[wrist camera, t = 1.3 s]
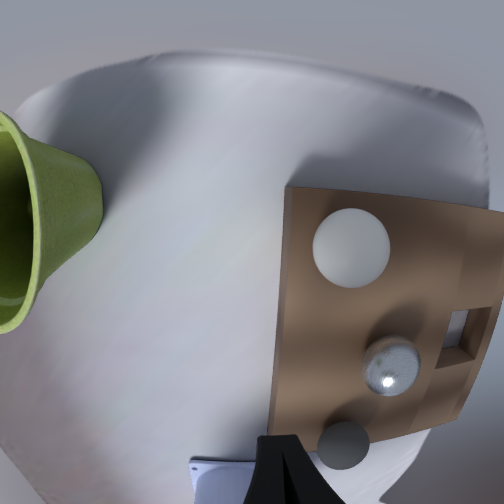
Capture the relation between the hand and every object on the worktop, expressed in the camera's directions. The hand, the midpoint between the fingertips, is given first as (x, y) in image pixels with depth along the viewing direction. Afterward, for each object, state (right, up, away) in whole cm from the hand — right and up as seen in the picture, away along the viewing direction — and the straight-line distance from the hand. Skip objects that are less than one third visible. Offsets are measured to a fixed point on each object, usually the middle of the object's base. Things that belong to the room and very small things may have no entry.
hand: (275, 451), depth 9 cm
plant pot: (-13, +10, +7) cm, 18 cm away
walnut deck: (+9, +2, +10) cm, 13 cm away
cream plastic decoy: (+4, +7, +4) cm, 9 cm away
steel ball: (+7, +1, +5) cm, 9 cm away
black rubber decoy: (+5, -5, +7) cm, 10 cm away
